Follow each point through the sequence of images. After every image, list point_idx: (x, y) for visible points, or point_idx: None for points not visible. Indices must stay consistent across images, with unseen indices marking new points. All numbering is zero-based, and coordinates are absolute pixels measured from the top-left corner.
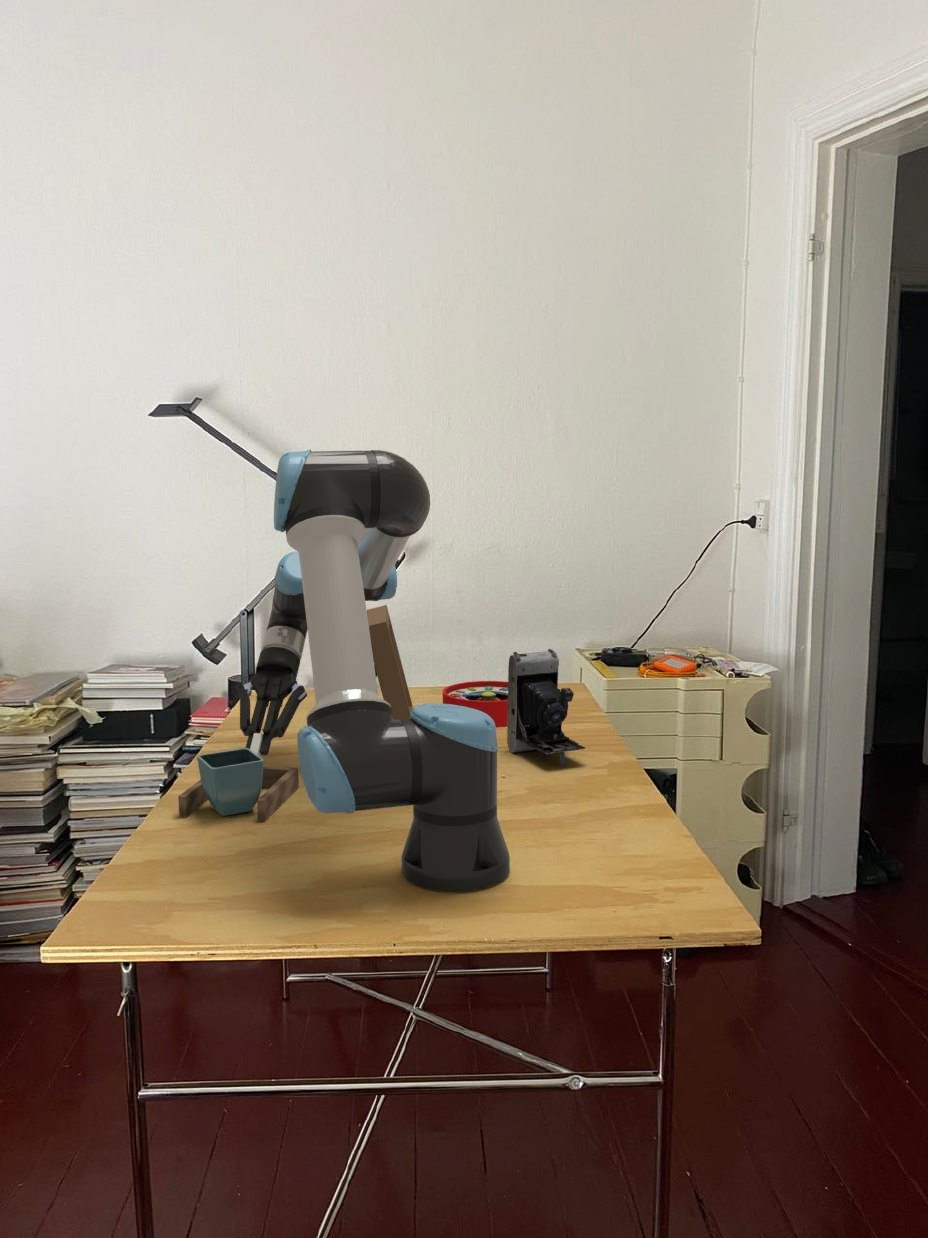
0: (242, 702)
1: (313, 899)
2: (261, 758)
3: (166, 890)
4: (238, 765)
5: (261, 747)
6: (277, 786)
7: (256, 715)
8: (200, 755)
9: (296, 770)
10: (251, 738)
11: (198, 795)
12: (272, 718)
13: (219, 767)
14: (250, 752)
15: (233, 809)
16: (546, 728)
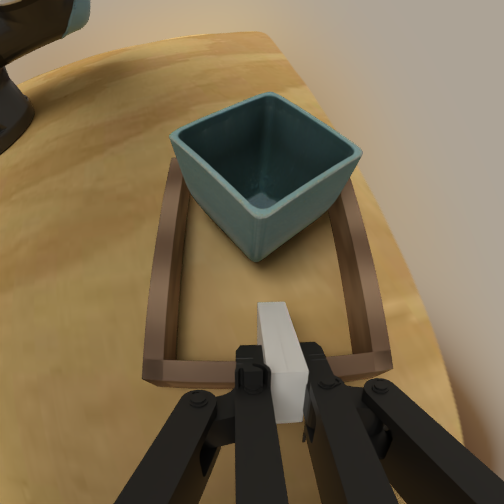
0: (477, 475)
1: (105, 75)
2: (177, 140)
3: (229, 62)
4: (222, 110)
5: (257, 352)
6: (161, 227)
7: (347, 444)
8: (355, 150)
9: (143, 362)
10: (315, 372)
11: (338, 215)
12: (235, 440)
13: (257, 95)
14: (231, 185)
15: (242, 189)
16: None
